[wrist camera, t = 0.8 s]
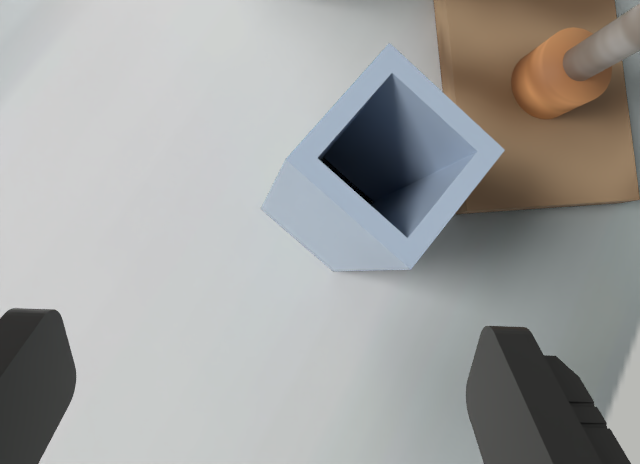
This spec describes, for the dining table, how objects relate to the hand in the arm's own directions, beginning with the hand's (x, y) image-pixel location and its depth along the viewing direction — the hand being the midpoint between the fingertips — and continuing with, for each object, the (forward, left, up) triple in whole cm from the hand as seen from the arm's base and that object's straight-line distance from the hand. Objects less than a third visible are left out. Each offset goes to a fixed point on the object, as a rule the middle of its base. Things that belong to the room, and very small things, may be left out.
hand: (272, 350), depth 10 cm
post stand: (-11, +18, -17) cm, 27 cm away
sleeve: (-5, +5, -17) cm, 19 cm away
